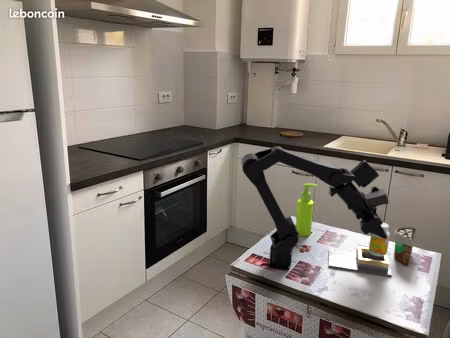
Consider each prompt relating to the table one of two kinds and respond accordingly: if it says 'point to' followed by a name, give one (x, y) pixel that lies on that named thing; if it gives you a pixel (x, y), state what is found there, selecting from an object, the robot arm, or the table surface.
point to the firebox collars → (359, 261)
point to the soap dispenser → (305, 211)
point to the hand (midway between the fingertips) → (384, 233)
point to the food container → (404, 244)
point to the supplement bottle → (379, 242)
